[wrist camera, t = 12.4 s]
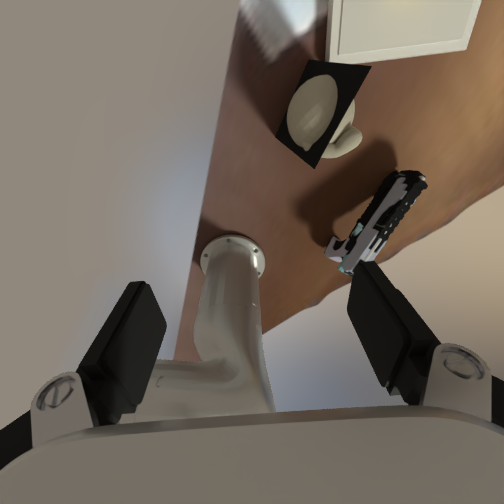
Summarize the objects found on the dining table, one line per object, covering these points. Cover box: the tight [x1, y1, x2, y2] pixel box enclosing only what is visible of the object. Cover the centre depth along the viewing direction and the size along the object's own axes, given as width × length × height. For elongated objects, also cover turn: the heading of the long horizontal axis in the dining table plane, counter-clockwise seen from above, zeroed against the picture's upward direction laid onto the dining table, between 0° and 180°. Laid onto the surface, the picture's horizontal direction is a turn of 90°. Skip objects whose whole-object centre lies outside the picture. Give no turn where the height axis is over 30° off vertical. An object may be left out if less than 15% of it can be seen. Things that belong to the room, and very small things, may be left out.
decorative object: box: [275, 60, 372, 169], centre depth 29 cm, size 12×10×10 cm
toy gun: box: [324, 170, 428, 276], centre depth 39 cm, size 2×18×11 cm, turn 149°
